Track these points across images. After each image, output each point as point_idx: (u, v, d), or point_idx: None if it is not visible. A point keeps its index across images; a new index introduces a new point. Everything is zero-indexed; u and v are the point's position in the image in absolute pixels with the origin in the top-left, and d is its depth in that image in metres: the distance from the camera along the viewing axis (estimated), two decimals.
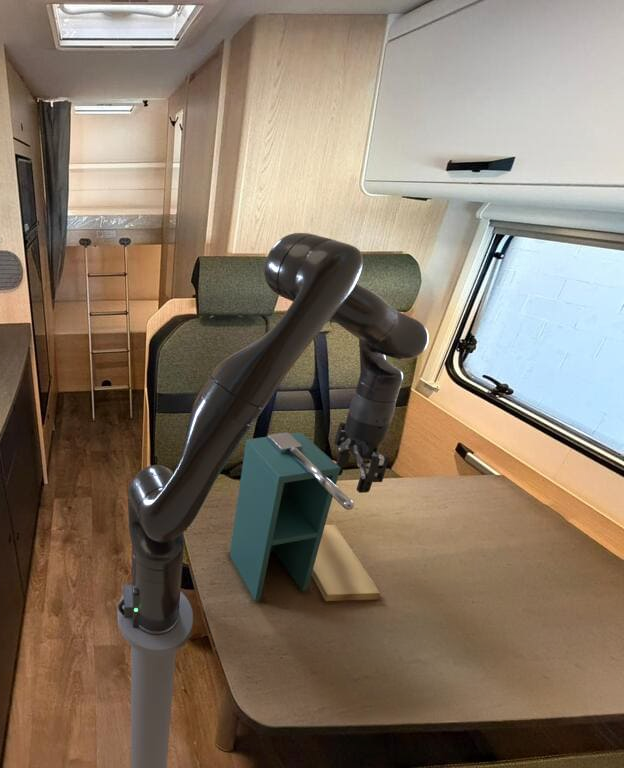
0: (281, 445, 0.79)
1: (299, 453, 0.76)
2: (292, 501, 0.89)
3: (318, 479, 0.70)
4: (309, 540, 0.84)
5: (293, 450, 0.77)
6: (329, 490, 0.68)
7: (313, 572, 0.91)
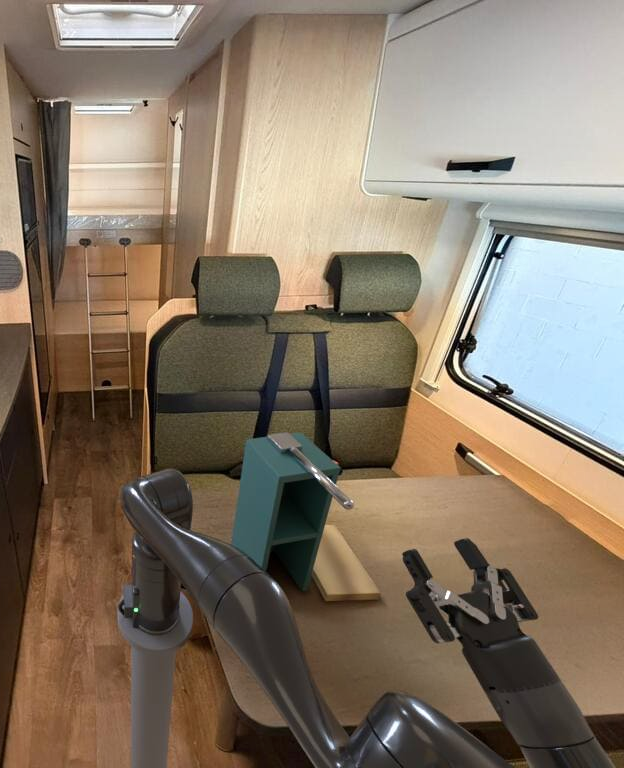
0: (281, 445, 0.79)
1: (299, 453, 0.76)
2: (292, 501, 0.89)
3: (318, 479, 0.70)
4: (309, 540, 0.84)
5: (293, 450, 0.77)
6: (329, 490, 0.68)
7: (313, 572, 0.91)
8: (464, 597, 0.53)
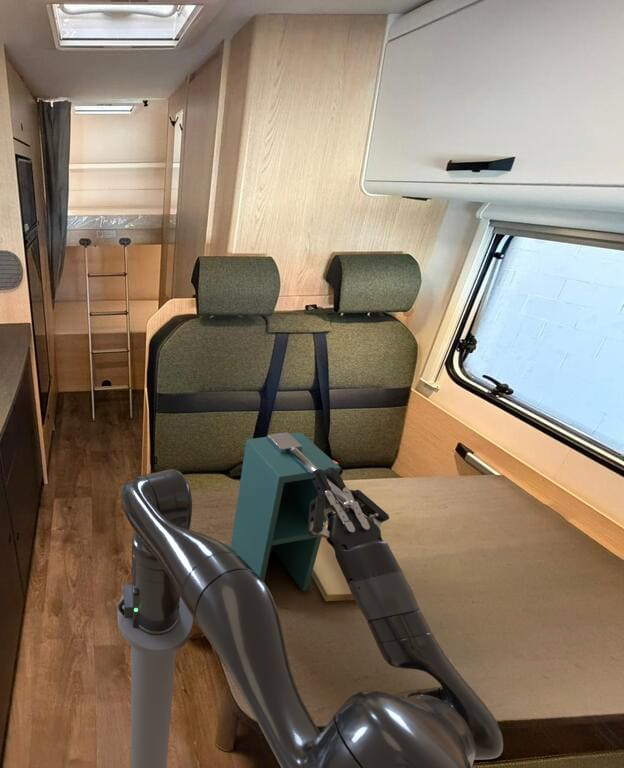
0: (281, 445, 0.79)
1: (299, 453, 0.76)
2: (292, 501, 0.89)
3: None
4: (309, 540, 0.84)
5: (293, 450, 0.77)
6: (329, 490, 0.68)
7: (313, 572, 0.91)
8: None
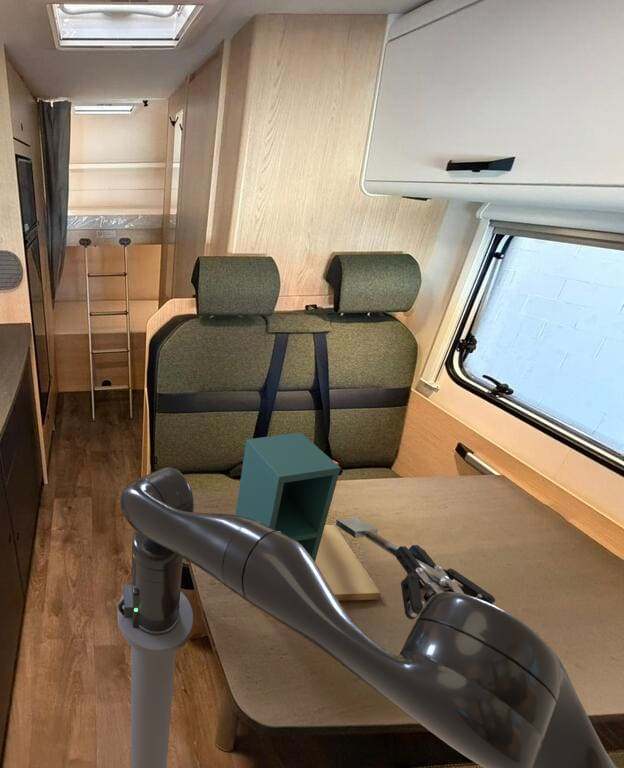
0: (354, 528, 0.76)
1: (376, 535, 0.73)
2: (292, 501, 0.89)
3: None
4: (309, 540, 0.84)
5: (368, 532, 0.74)
6: None
7: None
8: (438, 593, 0.60)
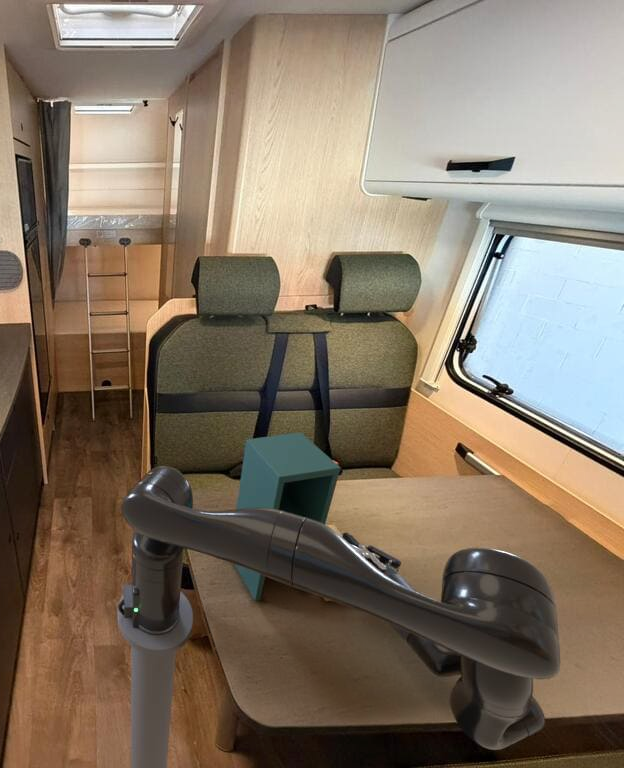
0: None
1: None
2: (292, 501, 0.89)
3: None
4: None
5: None
6: None
7: None
8: None
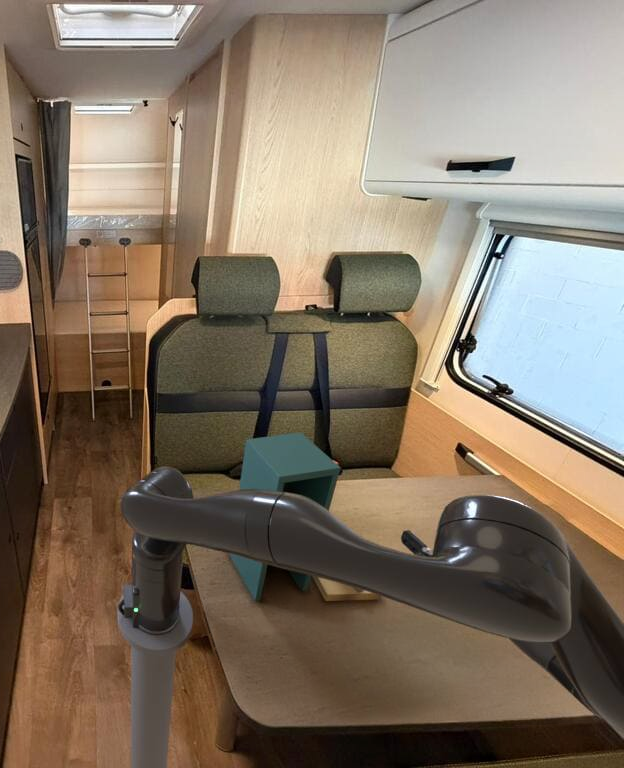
0: None
1: None
2: None
3: None
4: None
5: None
6: None
7: None
8: None
